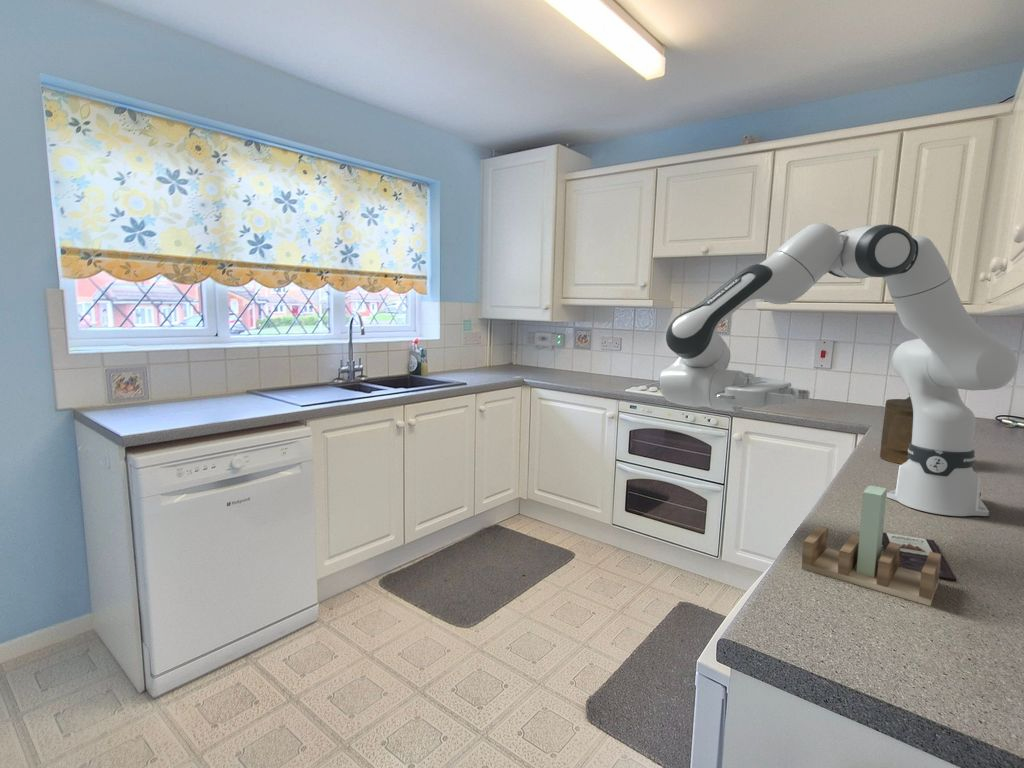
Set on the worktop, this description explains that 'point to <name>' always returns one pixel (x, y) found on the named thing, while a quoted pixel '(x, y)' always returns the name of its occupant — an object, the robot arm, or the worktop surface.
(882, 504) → the tall mint green block
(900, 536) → the chocolate bar
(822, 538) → the rack
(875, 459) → the worktop surface
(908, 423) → the wooden container
